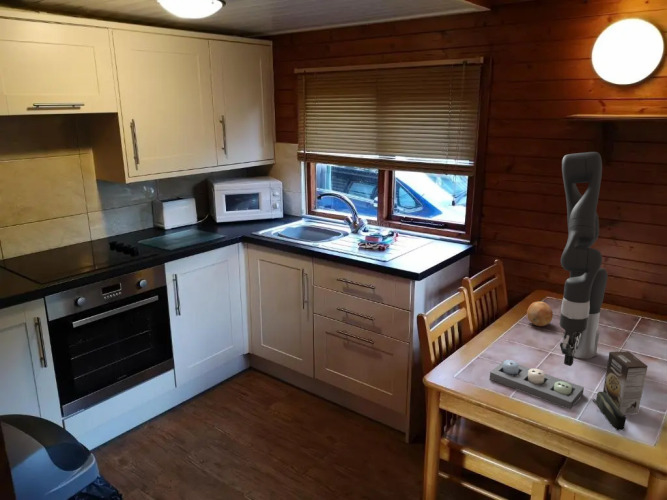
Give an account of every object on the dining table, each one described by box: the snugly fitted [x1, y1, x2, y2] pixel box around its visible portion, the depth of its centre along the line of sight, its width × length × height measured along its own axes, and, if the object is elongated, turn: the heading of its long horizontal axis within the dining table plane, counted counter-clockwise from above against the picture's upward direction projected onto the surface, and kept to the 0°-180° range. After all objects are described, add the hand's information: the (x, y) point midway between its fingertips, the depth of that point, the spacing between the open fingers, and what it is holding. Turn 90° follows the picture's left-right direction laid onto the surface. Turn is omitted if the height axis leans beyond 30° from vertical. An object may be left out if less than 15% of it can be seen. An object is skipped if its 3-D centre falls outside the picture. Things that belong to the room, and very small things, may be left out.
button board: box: [489, 359, 585, 410], centre depth 168 cm, size 26×11×2 cm, turn 47°
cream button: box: [527, 368, 546, 386], centre depth 167 cm, size 5×5×3 cm
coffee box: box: [602, 350, 648, 415], centre depth 155 cm, size 9×6×16 cm
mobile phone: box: [592, 391, 627, 431], centre depth 153 cm, size 5×3×15 cm
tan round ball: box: [526, 301, 554, 327], centre depth 211 cm, size 10×10×10 cm
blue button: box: [502, 359, 520, 377], centre depth 173 cm, size 5×5×3 cm
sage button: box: [554, 381, 572, 396], centre depth 162 cm, size 5×5×3 cm
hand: (568, 364), depth 159 cm, fingers closed
